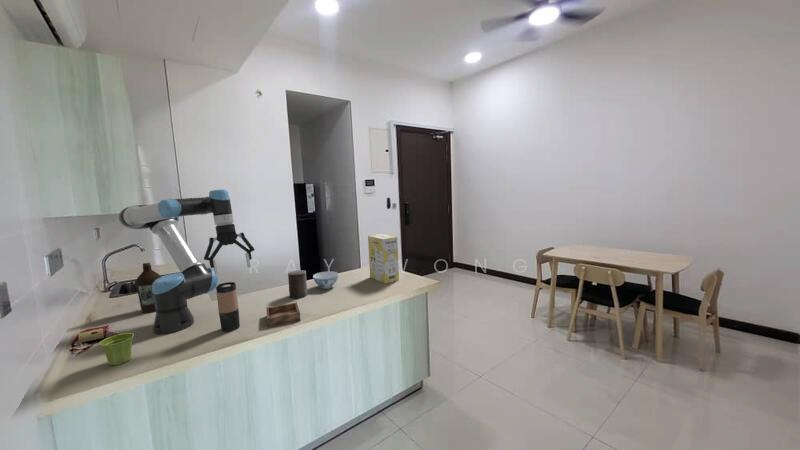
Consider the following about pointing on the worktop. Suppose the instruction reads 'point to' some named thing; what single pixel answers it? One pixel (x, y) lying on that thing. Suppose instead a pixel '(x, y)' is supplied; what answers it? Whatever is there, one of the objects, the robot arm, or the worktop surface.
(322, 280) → the chinaware
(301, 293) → the pillar candle
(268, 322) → the walnut caddy
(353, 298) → the worktop surface
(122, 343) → the plant pot
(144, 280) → the olive oil
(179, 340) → the worktop surface
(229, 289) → the travel mug
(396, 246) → the pasta box
